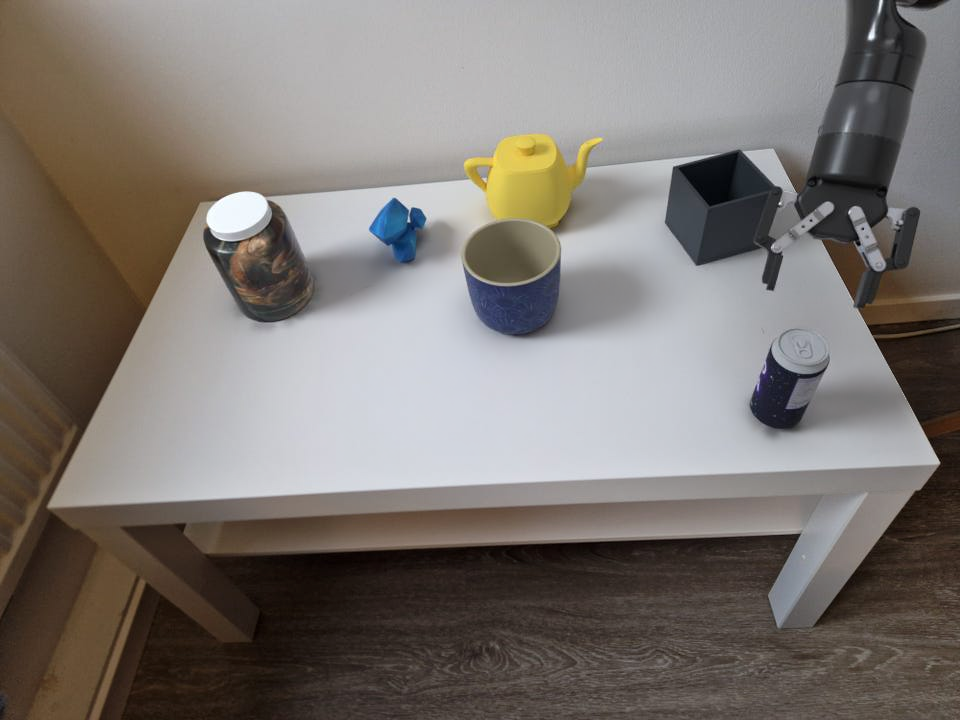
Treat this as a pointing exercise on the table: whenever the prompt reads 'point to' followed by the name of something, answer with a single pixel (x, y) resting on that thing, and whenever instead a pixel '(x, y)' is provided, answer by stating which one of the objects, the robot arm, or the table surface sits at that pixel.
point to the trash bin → (717, 205)
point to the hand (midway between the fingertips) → (813, 299)
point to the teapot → (530, 178)
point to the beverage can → (789, 377)
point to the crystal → (398, 228)
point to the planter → (513, 274)
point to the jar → (258, 256)
